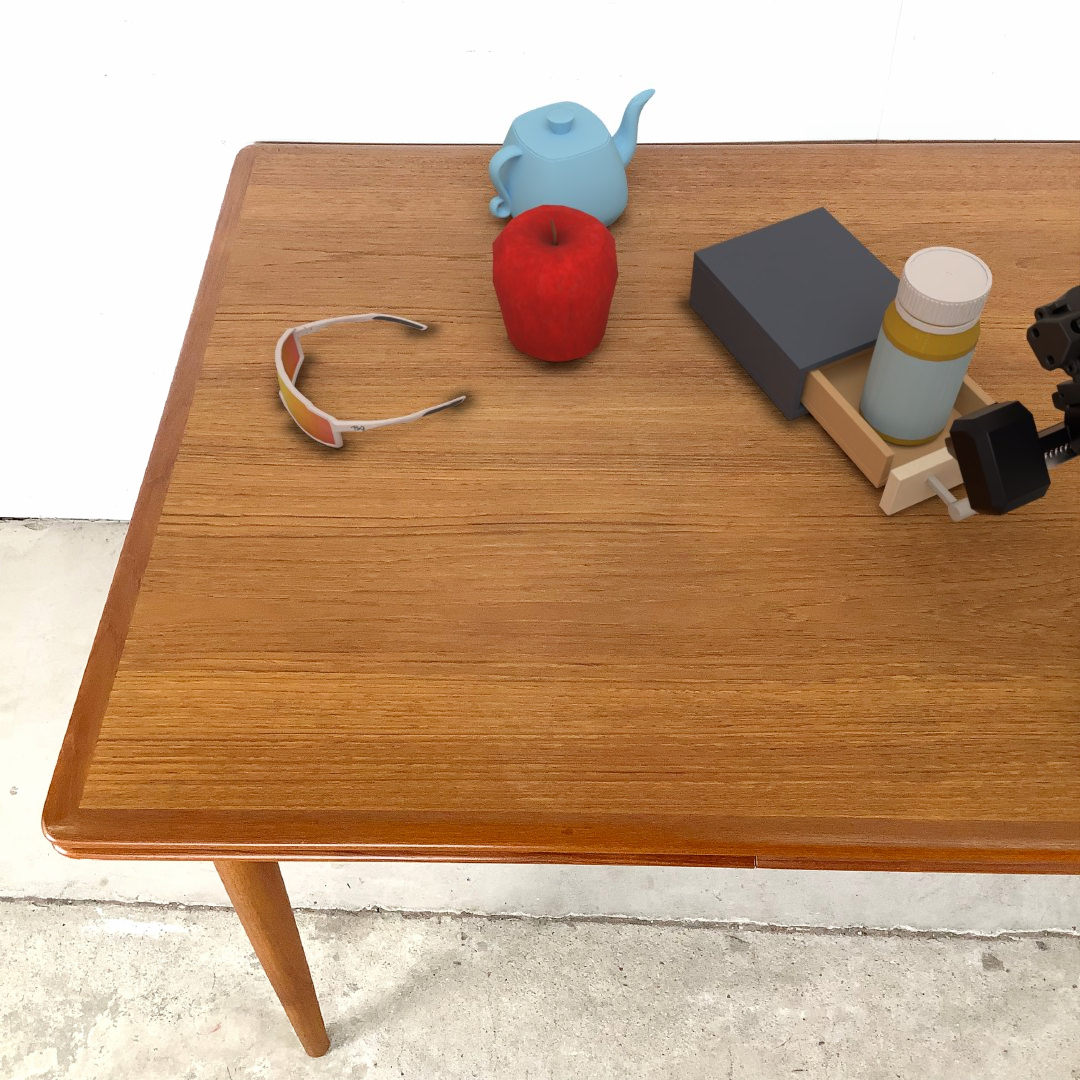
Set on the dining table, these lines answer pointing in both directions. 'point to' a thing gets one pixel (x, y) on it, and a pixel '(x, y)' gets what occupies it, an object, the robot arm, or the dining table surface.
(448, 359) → the dining table surface
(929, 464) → the drawer
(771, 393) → the cabinet
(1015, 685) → the dining table surface
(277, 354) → the sunglasses
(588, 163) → the teapot
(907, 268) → the bottle
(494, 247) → the apple
